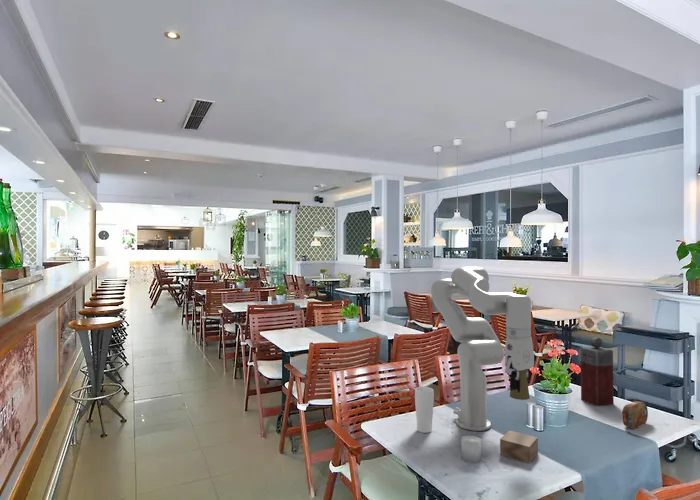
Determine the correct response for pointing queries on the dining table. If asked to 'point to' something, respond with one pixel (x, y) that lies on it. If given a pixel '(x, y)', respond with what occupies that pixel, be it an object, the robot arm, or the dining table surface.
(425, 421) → the drinking glass
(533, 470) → the dining table surface
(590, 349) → the dark red canister
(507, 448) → the block
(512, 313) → the robot arm
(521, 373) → the cork
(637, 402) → the tin
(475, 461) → the grey rounded block
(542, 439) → the dining table surface
